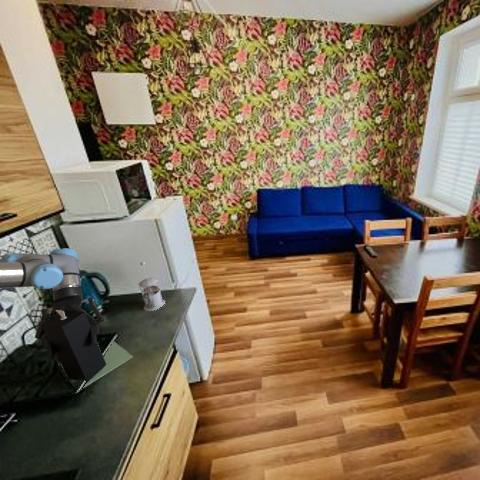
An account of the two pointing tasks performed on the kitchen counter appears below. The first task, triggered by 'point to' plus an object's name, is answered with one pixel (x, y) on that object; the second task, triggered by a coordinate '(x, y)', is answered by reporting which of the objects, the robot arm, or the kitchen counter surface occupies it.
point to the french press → (151, 293)
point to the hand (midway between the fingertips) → (74, 350)
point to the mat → (112, 360)
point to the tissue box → (74, 344)
